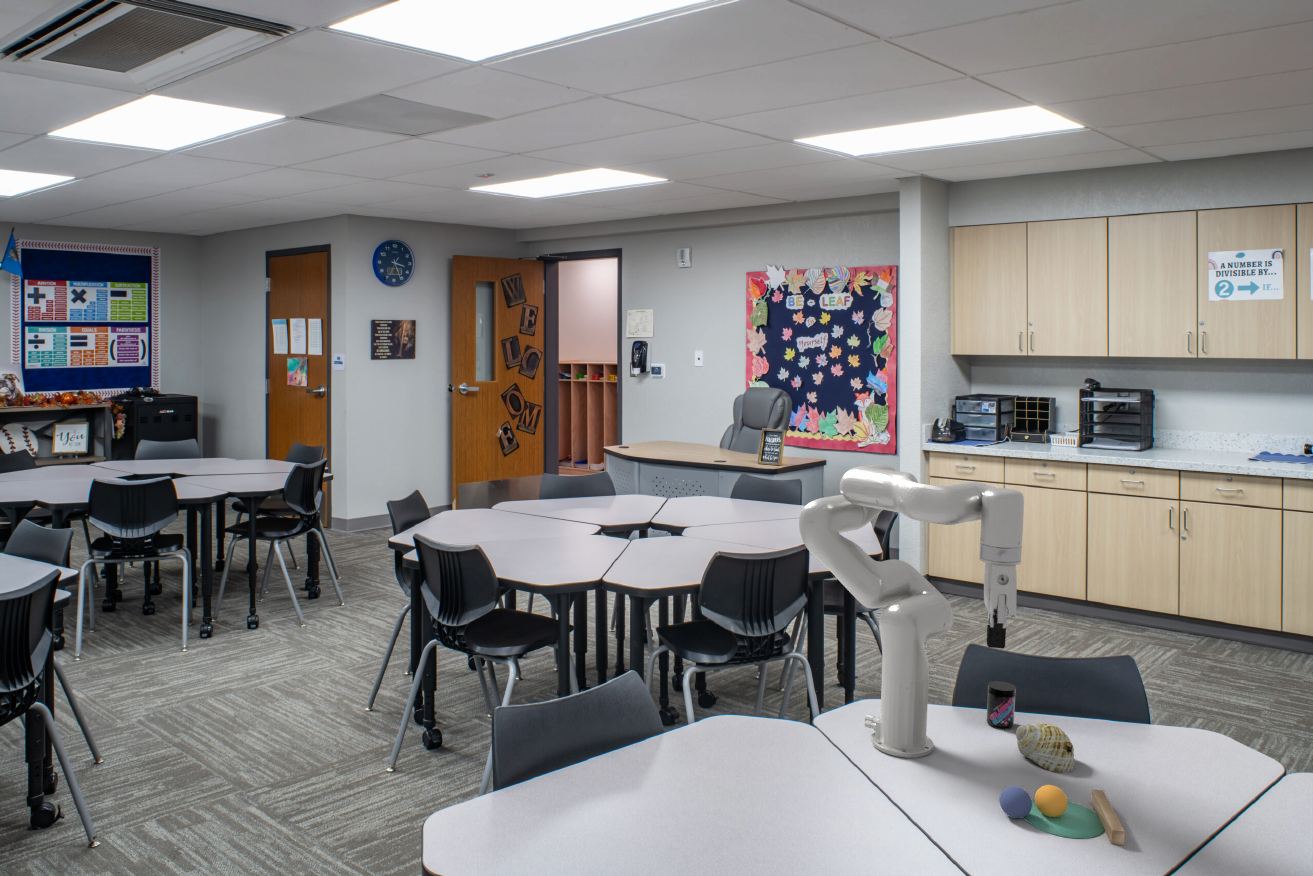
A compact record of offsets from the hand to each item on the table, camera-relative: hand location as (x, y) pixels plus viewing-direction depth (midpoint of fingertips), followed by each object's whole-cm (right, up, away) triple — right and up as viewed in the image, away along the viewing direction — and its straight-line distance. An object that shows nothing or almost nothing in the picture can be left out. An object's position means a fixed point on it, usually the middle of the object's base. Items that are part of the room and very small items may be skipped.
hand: (995, 646), depth 182 cm
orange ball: (+6, -26, -11) cm, 29 cm away
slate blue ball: (0, -26, -11) cm, 28 cm away
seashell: (+14, -26, +12) cm, 32 cm away
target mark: (+8, -29, -11) cm, 32 cm away
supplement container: (+12, -24, +30) cm, 40 cm away
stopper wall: (+15, -29, -13) cm, 35 cm away
